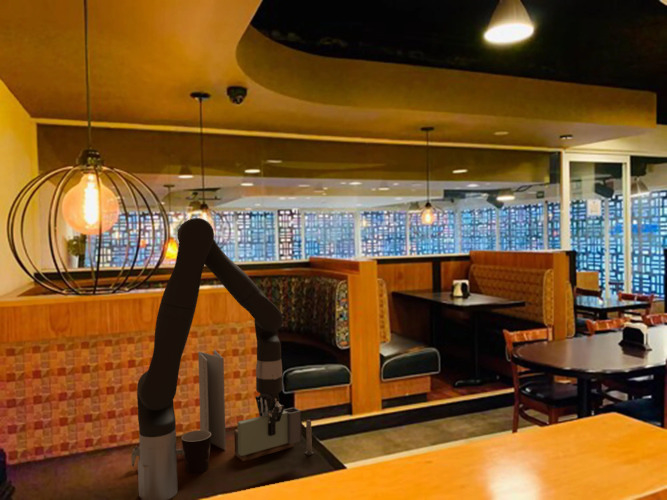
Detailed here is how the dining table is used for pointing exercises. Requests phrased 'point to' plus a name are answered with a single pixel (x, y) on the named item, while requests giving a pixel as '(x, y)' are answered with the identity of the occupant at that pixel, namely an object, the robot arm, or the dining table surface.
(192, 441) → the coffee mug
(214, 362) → the brochure
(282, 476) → the dining table surface
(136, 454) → the caliper
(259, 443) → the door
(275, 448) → the cabinet
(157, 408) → the robot arm
